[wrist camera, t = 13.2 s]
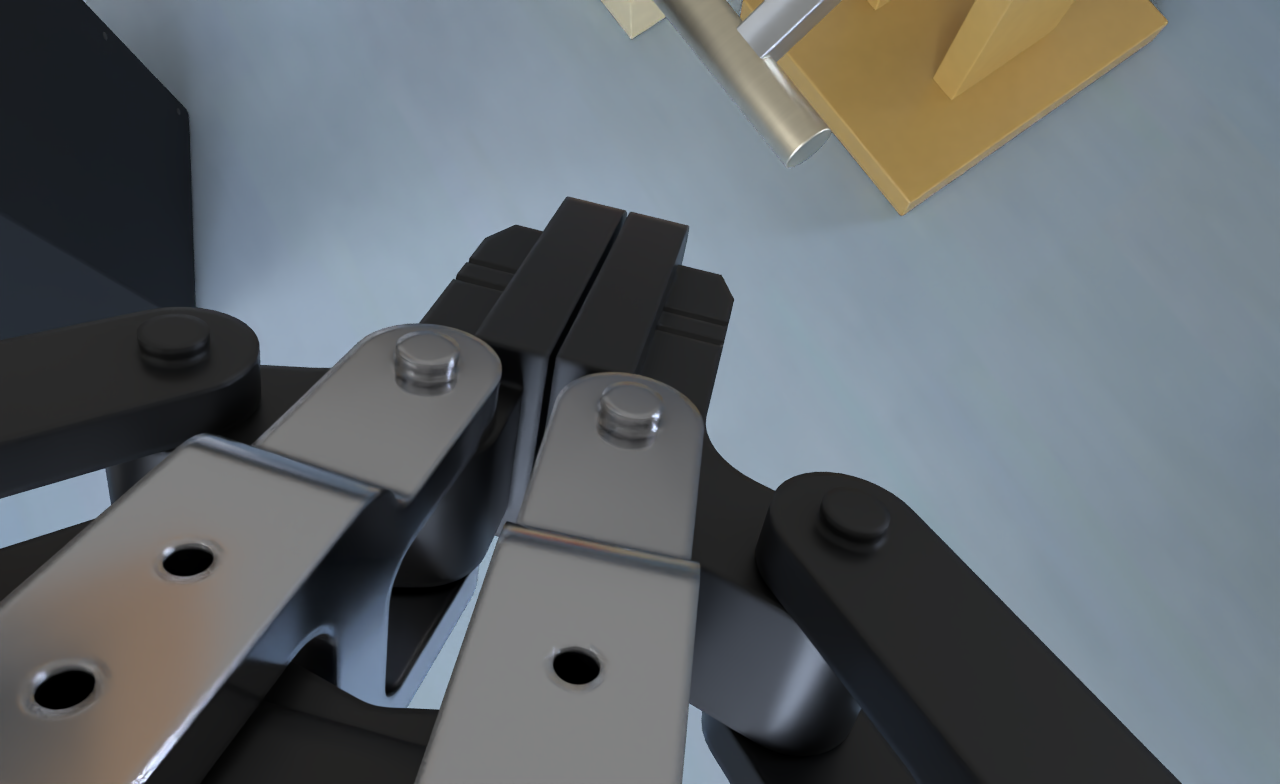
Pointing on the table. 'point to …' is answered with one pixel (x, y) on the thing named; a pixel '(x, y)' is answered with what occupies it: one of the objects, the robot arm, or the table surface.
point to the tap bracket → (952, 76)
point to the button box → (634, 14)
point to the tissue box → (87, 175)
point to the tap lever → (757, 65)
